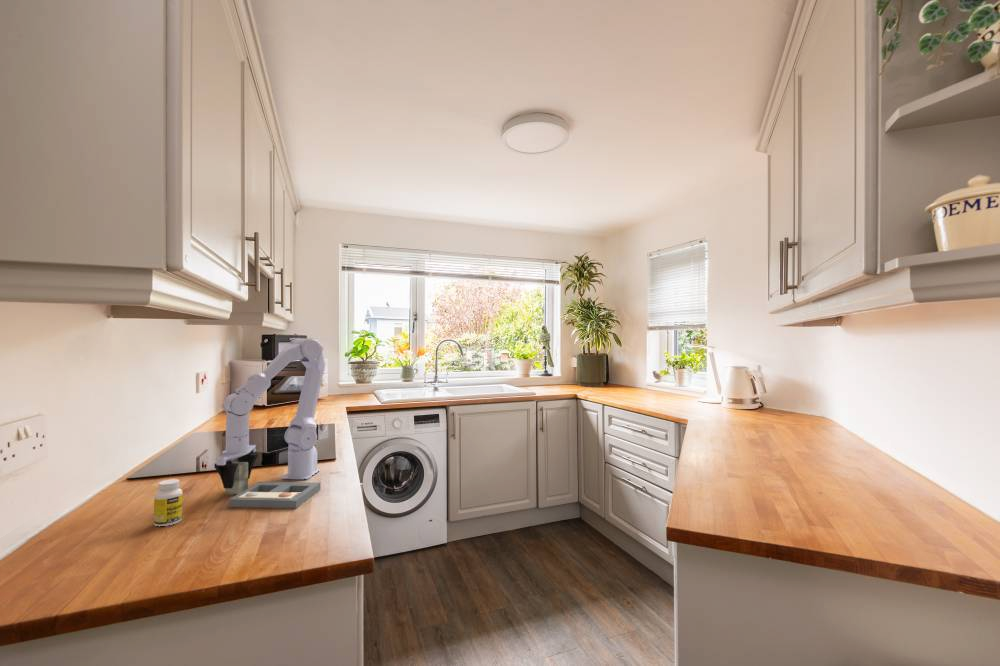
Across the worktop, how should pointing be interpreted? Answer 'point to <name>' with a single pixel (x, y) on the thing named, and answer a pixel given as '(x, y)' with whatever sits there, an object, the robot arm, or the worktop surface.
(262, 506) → the board
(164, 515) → the supplement bottle
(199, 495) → the worktop surface
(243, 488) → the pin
